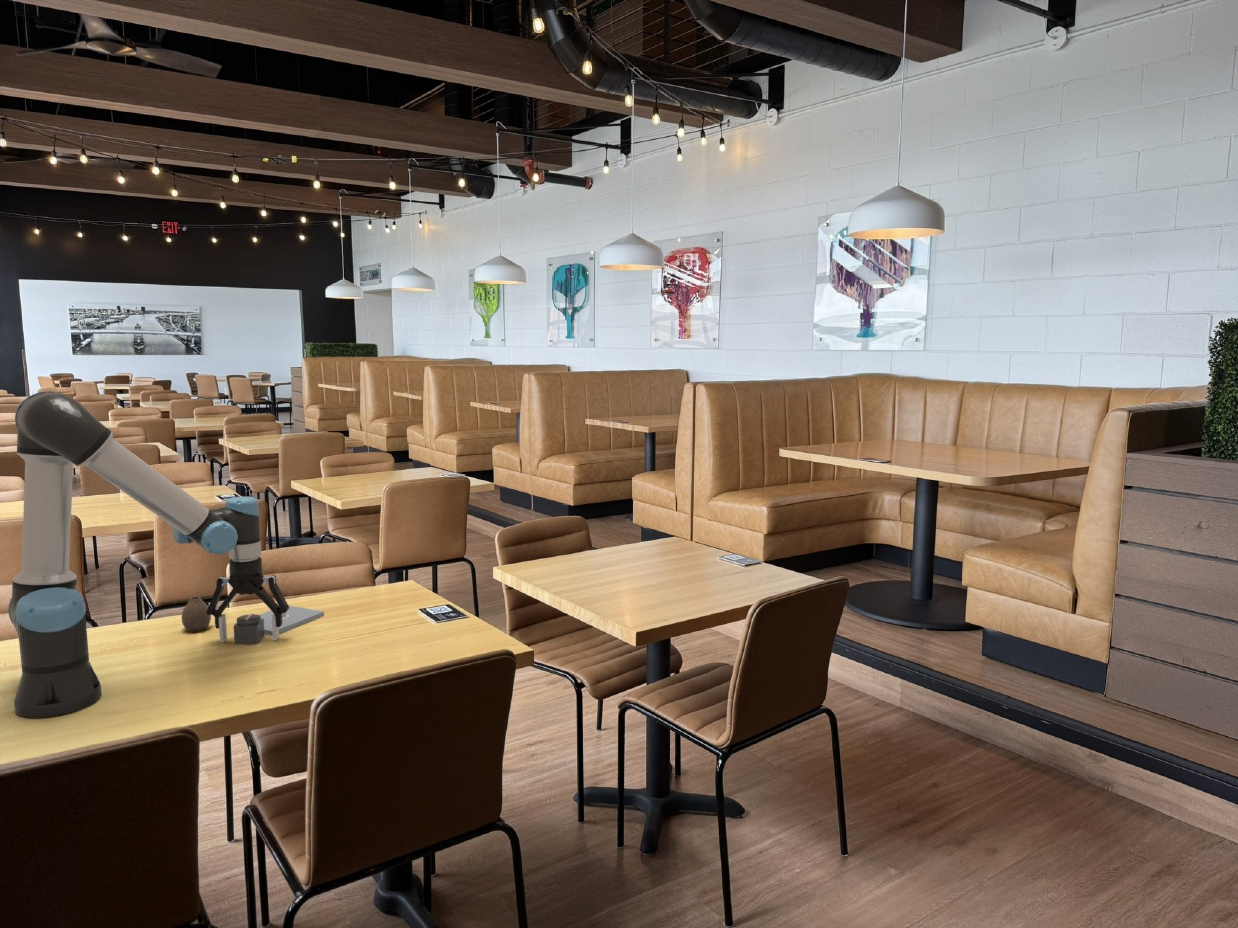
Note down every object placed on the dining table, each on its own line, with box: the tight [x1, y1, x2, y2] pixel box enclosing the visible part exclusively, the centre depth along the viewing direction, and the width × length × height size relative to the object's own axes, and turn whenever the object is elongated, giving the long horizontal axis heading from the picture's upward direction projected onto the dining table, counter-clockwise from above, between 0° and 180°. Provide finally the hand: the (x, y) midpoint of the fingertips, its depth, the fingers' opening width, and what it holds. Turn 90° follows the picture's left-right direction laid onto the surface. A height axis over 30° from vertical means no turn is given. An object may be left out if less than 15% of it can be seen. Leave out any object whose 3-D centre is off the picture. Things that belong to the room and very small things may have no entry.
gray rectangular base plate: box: [233, 602, 325, 637], centre depth 224 cm, size 18×14×5 cm
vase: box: [181, 596, 212, 633], centre depth 217 cm, size 7×7×9 cm
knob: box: [233, 613, 266, 646], centre depth 209 cm, size 6×6×6 cm
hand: (249, 639), depth 210 cm, fingers open, 12 cm apart
